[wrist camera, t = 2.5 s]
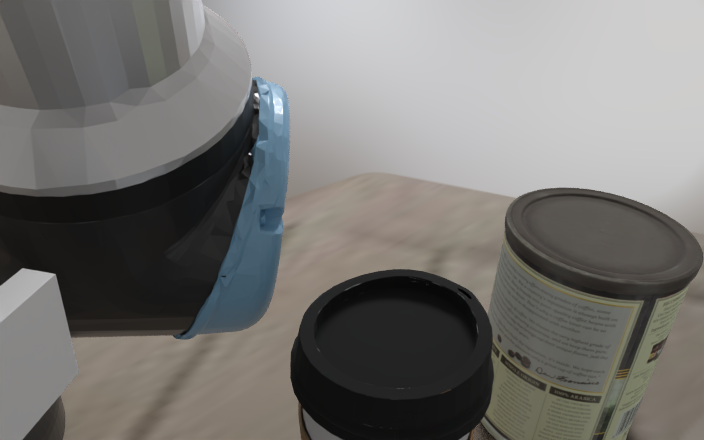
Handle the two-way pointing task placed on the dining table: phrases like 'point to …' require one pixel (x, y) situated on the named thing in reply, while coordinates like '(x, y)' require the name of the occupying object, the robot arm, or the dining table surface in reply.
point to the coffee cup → (393, 360)
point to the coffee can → (582, 312)
